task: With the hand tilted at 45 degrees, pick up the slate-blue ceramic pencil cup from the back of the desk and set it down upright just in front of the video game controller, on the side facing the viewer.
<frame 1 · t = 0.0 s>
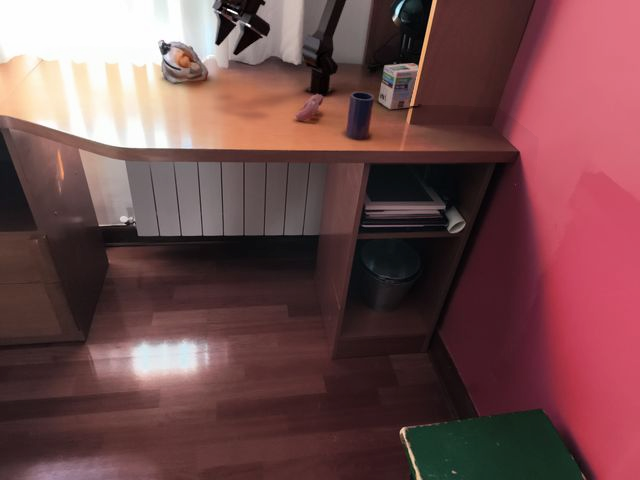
hand: (225, 49, 114), 15 cm above the table, tool tilted 35°, fingers open, 9 cm apart
light bulb box: (398, 104, 135), on the table
pencil cup: (356, 134, 115), on the table
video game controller: (309, 117, 122), on the table
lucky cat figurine: (186, 80, 137), on the table
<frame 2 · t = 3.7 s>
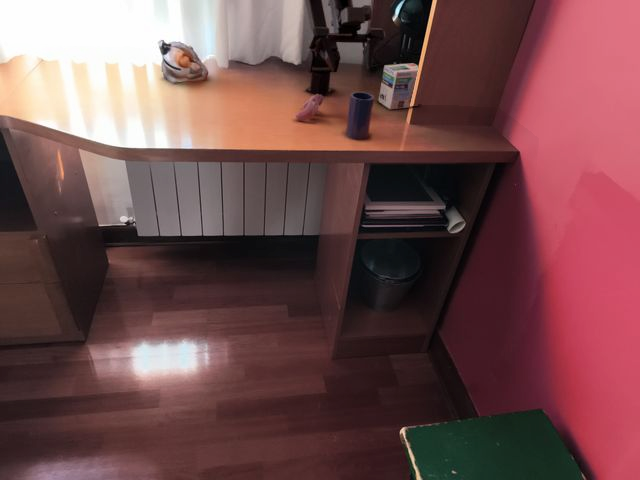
hand: (351, 70, 113), 14 cm above the table, tool tilted 45°, fingers open, 9 cm apart
nothing on the table moved.
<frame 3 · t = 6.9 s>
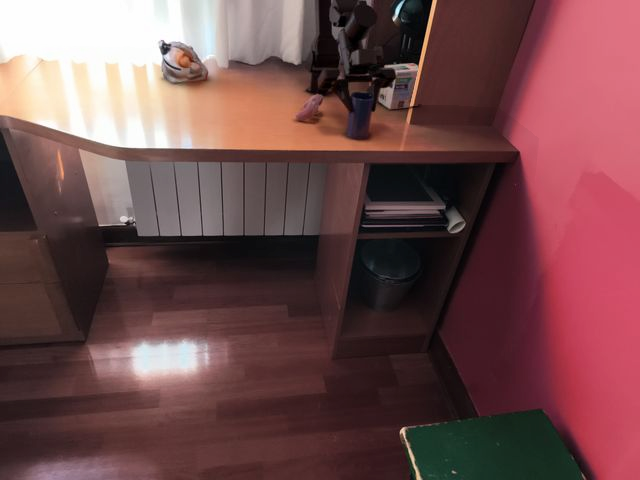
hand: (362, 111, 110), 7 cm above the table, tool tilted 45°, fingers closed on pencil cup, 5 cm apart
pencil cup: (356, 134, 115), on the table, touching gripper
everything else where it was.
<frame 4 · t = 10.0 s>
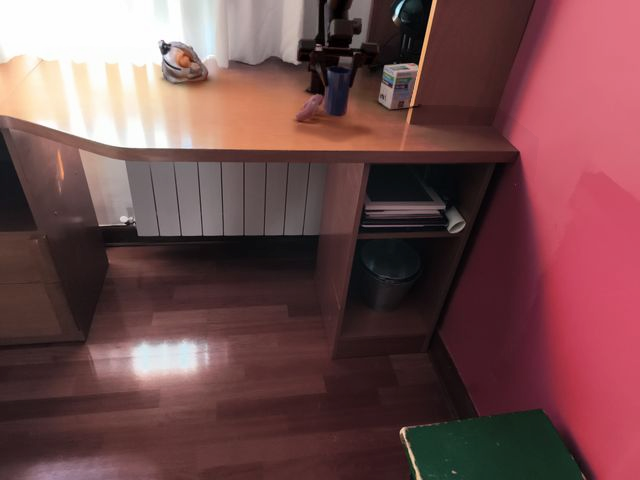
hand: (338, 86, 106), 12 cm above the table, tool tilted 45°, fingers closed on pencil cup, 5 cm apart
pencil cup: (334, 111, 111), point 6 cm above the table, touching gripper
everything else where it was.
when the fingers open (7 cm above the table, at t = 13.3 s): pencil cup stays where it is, on the table.
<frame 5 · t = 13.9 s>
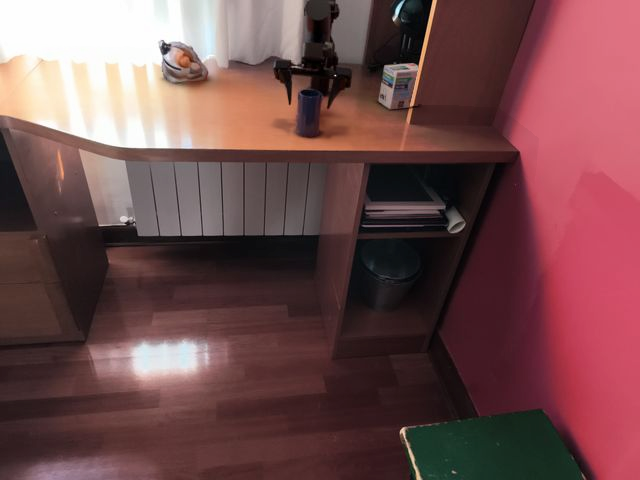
hand: (308, 106, 108), 7 cm above the table, tool tilted 45°, fingers open, 9 cm apart
pencil cup: (307, 132, 114), on the table
everything else where it was.
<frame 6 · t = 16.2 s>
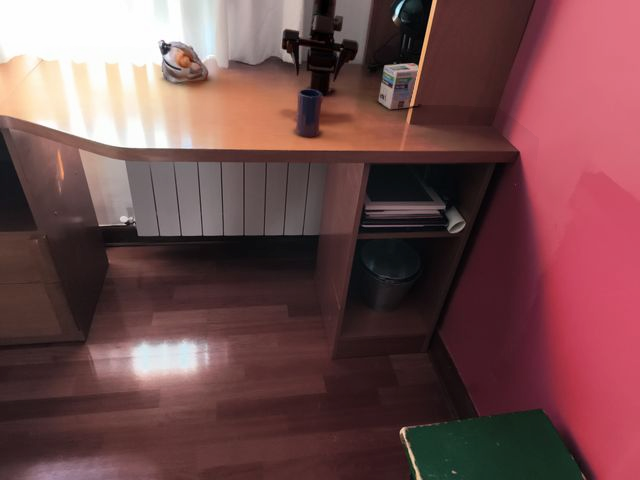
hand: (315, 78, 113), 11 cm above the table, tool tilted 40°, fingers open, 9 cm apart
nothing on the table moved.
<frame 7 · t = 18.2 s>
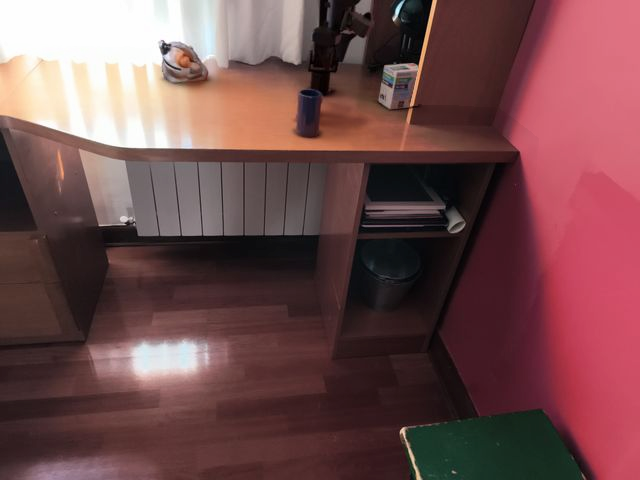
hand: (334, 66, 116), 13 cm above the table, tool pointing down, fingers open, 9 cm apart
nothing on the table moved.
at the end: pencil cup inside the target area on the table beside the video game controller (0.1 cm from its centre), on the table; pencil cup tilted 0°; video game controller moved 0.2 cm from its start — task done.
